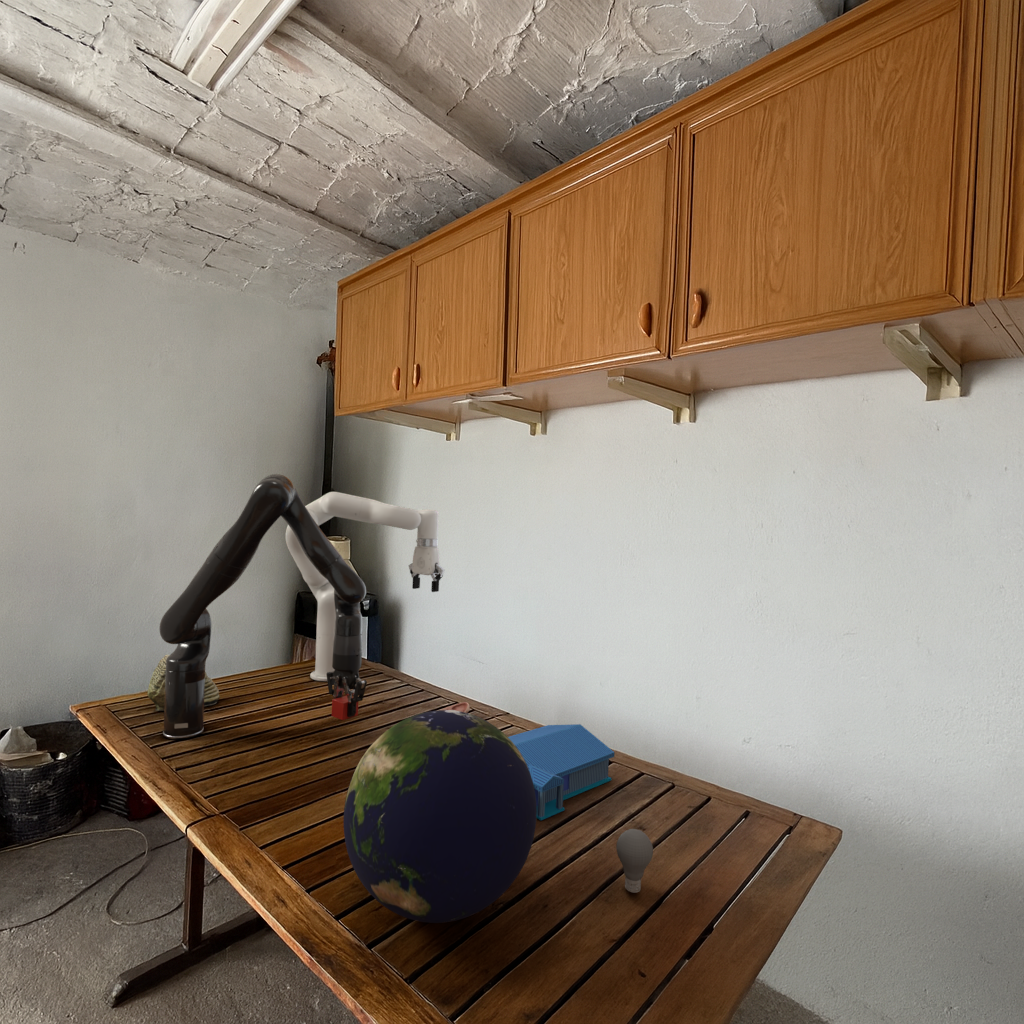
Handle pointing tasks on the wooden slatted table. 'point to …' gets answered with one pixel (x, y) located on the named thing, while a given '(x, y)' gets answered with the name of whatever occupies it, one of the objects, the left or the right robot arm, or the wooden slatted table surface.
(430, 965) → the wooden slatted table surface
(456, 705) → the anatomical model
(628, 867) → the light bulb
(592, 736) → the model building
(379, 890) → the globe
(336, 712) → the block
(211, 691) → the fossil
